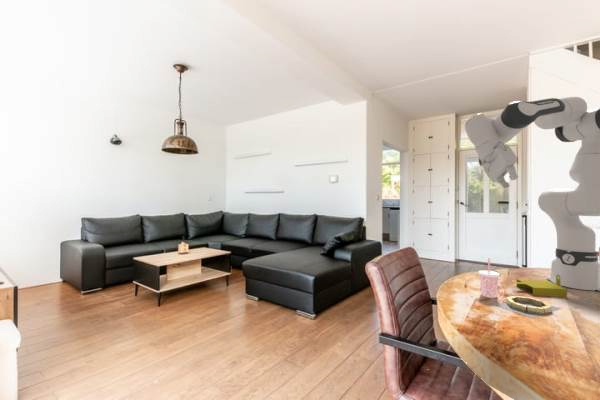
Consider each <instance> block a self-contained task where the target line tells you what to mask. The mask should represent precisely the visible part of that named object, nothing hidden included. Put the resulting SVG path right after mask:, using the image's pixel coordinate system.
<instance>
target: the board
mask: <svg viewBox="0 0 600 400" xmlns="http://www.w3.org/2000/svg"><path fill="white" fill-rule="evenodd" d="M516 303H519V304H523V305H526V306H533V307H541V306H537V305H534V304H530V303H523V302H516ZM551 306H552V312H555V311H557V310H561V309H562V308H561V307H557V306H554V305H551ZM496 307H499V308H501V309H504V310H507V311H511V312H513V313H517V314H520V315H522V316H525V317H528V318H532V319H534V318H537V317H540V316H543V315H544V314H536V313H528V312H524V311H521V310H518V309H514V308H512V307H510V306H509V305H508V304H507V303H506V302H505V303H501V304H498V305H496Z"/></svg>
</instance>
